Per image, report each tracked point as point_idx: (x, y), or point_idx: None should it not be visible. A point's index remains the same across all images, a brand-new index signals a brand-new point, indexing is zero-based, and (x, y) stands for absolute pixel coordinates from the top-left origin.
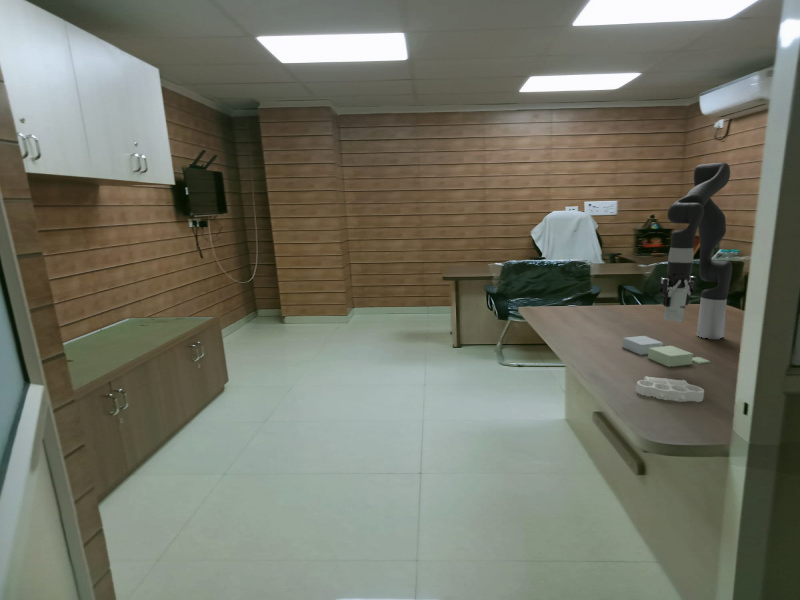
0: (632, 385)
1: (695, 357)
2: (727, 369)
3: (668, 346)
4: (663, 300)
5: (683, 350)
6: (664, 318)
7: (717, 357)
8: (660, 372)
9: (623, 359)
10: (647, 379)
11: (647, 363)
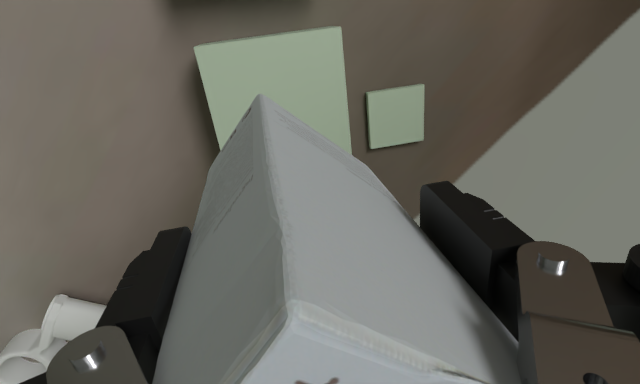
0: (9, 309)
1: (405, 90)
2: (419, 204)
3: (316, 39)
4: (115, 296)
5: (344, 114)
6: (208, 174)
7: (502, 82)
8: (167, 213)
9: (62, 44)
10: (37, 349)
11: (163, 115)
